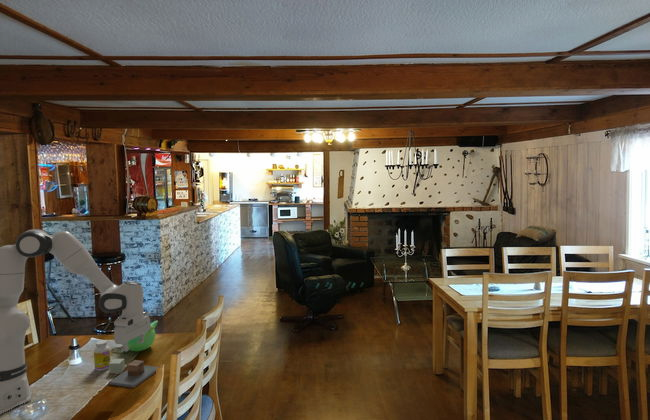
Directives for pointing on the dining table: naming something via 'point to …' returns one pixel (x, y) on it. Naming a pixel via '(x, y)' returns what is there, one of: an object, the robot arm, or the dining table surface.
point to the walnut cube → (135, 368)
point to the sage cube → (116, 366)
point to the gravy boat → (147, 340)
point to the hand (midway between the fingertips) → (133, 346)
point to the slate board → (133, 378)
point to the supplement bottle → (101, 356)
